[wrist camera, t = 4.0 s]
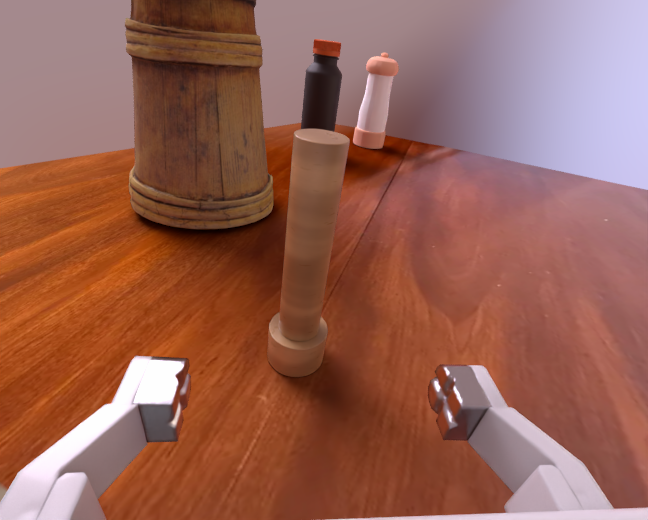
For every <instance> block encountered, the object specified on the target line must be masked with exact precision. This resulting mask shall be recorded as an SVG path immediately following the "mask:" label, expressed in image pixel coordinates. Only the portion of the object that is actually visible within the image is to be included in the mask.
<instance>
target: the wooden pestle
mask: <svg viewBox="0 0 648 520" xmlns="http://www.w3.org/2000/svg"><path fill="white" fill-rule="evenodd" d="M349 142H350V141H349V138H348V137H346V136H344V135H342V134H340V133H337V132H333V131H328V130H322V129H300V130H297V131H295V132H294V139H293V152H292V164H291V177H290V189H289V202H288V214H287V227H286V239H285V252H284V264H283V277H282V290H281V302H280V312H279V313H277V314H276V315H275V316H274V317H273V318H272V319H271V321H270V324H269V335H268V352H267V356H268V360H269V363H270V364H271V366H272V367H273V368H274V369H275V370H276V371H277V372H279V373H281V374H283V375H286V376H290V377H303V376H307V375H309V374H311V373H313V372H315V371H316V370H317V369H318V368H319V367H320V365H321V363H322V361H323V355H324V350H325V344H326V339H327V333H328V328H327V325H326V322H325V321H324V319H323V318H322V317H321V312H322V306H323V300H324V294H325V288H326V282H327V276H328V270H329V264H330V258H331V252H332V246H333V239H334V233H335V227H336V221H337V215H338V209H339V203H340V197H341V191H342V185H343V179H344V173H345V166H346V160H347V154H348V148H349Z"/></svg>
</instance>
